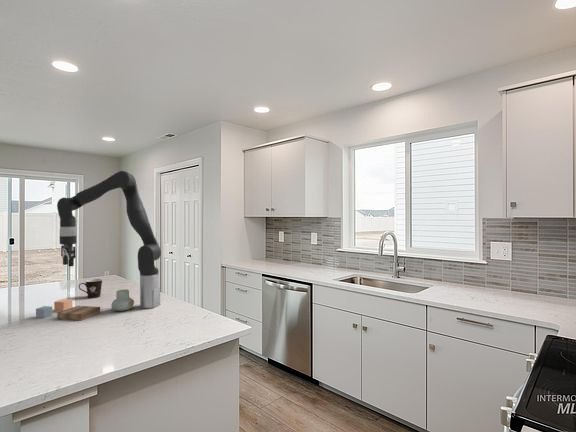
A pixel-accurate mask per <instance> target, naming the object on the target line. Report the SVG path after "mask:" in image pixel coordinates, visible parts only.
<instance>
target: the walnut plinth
mask: <svg viewBox="0 0 576 432" xmlns="http://www.w3.org/2000/svg"><path fill="white" fill-rule="evenodd" d="M56 313H57V315H56V316H57V318H56V319H57V320H68V321H69V320H70V321H84V320H85V319H89V318H91V317H93V316H96V315H98V314H101V306H92V305H75V306H72V308H70V309H67V310H64V311H61V312H56Z"/></svg>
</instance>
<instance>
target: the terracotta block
mask: <svg viewBox="0 0 576 432" xmlns="http://www.w3.org/2000/svg"><path fill="white" fill-rule="evenodd" d="M53 304H54V306H53V307H54V309H53V310H54V312H56V313H58V312H61V311H64V310H67V309H70V308H72V307H73V299H71V298H70V299H69V298H68V299H67V298H62V299H59V300H56V301H54V302H53Z"/></svg>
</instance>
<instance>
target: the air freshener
mask: <svg viewBox="0 0 576 432" xmlns="http://www.w3.org/2000/svg"><path fill="white" fill-rule="evenodd" d="M115 297H116V299H114V300H113V301H112V303H111V305H110V306H111V309H112V310H114V311H116V312H126V311H129V310H130V309H132V308H133V307H134V305H135V304H134V303H135V300H134V299H133V298H131V297H130V290H129V289H127V288H125V289H118V290H116V294H115Z"/></svg>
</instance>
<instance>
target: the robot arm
mask: <svg viewBox="0 0 576 432" xmlns="http://www.w3.org/2000/svg"><path fill="white" fill-rule="evenodd" d="M116 189H121V190H122V192H123V194H124V197H125V202H126V203H125V204H126V206H125V208H126V215H127V217H128V220H129V223H130V226H131V228H133V230H134V231H135V232H136V234H138V236H139V238H141V239H140V240H141V241H142V243H143V245H142V246H140V247H139V248H138V250H137V269H138V271H139V307H140V309H155V308H156V307H159V306H160V305H161V287H160V286H159V285H160V284H159V268H158V267H157V266H155V262H156V261H157V260H159V259H160V258H161V256H162V250H161V247H160V245H159V243H158V240H157V239H156V237H155V234H154V232H153V229H152V227H151V223H150V221H149V218H148V215H147V211H146V208H145V206H144V203H143V202H142V201H143V200H142V199H141V197H140V194H139V189H138V184H137V180H136V177H134V175H133V174H132V173H129V172H128V171H125V170H119V171H117V172H116V173H114V174H112V175H110V176H109V177H108V178H106V179H103V180H102V181H101V182H99V183H97V184H95V185H93V186H91V187H87V188H85V189H83V190H80V191H79V192H77V193H76V195H73V196H72V197H61V198H59V199H58V200H57V204H56V205H57V206H56V209H57V214H58V216H59V245H61V246H60V256H61V258H62V265H64V266H66V265H67V266H68V267H74V266H75V262H74V261H75V259H76V246H74V245H76V244H77V223H76V222H77V218H76V216H75V215H73V211H75V210H78V209H80V208H81V207H83V206H85V205H87V204H89V203H91V202H93V201H96V200H98V199H100V198H101V197H102V196H103V195H105V194H107V193H109V192H110V191H113V190H116Z"/></svg>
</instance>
